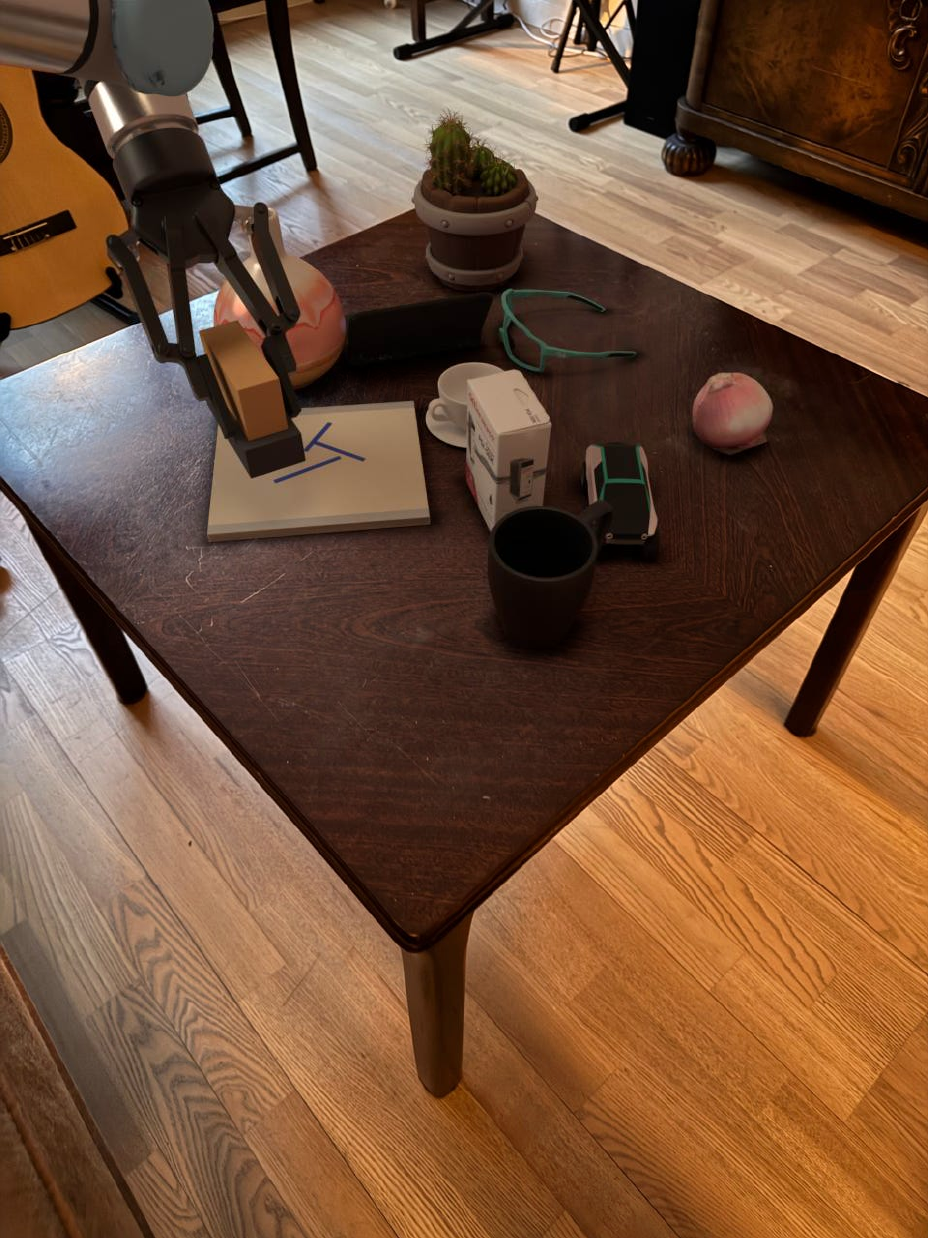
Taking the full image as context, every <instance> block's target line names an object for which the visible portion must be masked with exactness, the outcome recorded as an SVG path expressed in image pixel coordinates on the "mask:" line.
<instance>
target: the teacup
mask: <svg viewBox="0 0 928 1238" xmlns="http://www.w3.org/2000/svg"><path fill="white" fill-rule="evenodd" d="M504 371H505V370H503V369H502V368H500V367H499V366H495V365H493V364H491V363H485V362H476V361H473V362H463V363H457V364H456V365H452V366H450V367H449V368H447V369H445V370H444V371H443V372H442V373H441V374H440V375H439V377H438V380H437V390H438V396H439V397H438V398H435V399H433V400H432V401H430V402H429V404H428V409H427V411H426V414H425V423H426V426H427V428H428V430H429V431H430V432H431V434H433V436H435V438H437V439H439V440H440V441H442V442H444V443H446V444H449V445H451V446H454V447H455V446H456V447H459V448H466V449H467V380H468V379H471V378H475V377H479V376H484V375H489V374H493V373H499V372H504Z"/></svg>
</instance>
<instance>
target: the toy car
mask: <svg viewBox="0 0 928 1238" xmlns="http://www.w3.org/2000/svg"><path fill="white" fill-rule="evenodd" d="M648 463H649V462H648V458H647V455H646V453H645V450H644V448H643V447H642V445H641V444H628V443H625V442H623V441H616V440H615V441H608V442H606V443H602V444H601V443H592V444H590V445H589V446H588V447H587V448H586V451H585V460H584V461H582V463H581V469H580V470H581V471H580V486H581V488H580V489H581V491H584V492H587V496H588V497H587V498H588V506H589V505H590V504H592V503H594V502H595V501H598V500H604V501H606V502H608V503H609V504H610V505H611V506H612V509H613V518H612V522H611V525H610V527H609V530H608V532H607V534H606V537H605V539H604V541H603V543H602V545H601V547H600V549H599V551H598V554H597V557H601V555H602V549H603V546H605V545H609V544H610V545H628V546H629V545H630V546H635V545H639V546H641V552H642V553H641V554H642V556H643V557H644V558H648V559H649V558H652V559H653V558H655V557H657V555H658V552H659V543H660V534H659V529H658V522H659V521H658V516H657V513H656V509H655V506H654V501H653V495H652V490H651V485H650V479H649V465H648ZM593 524H594V522H593V523H592V524H591V525H590V527H591V528H592V527H593Z"/></svg>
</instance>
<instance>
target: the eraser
mask: <svg viewBox="0 0 928 1238" xmlns="http://www.w3.org/2000/svg"><path fill="white" fill-rule="evenodd" d="M198 334H199V338H200V342H201V346H202V350H203V354H206V353H207V355H208V358H209V360H210V363H211V366H212V368H213V371H214V373H215V376H216V378H217V381H218V384H219V386H220V389H221V391H222V394H223V396H224V399H225V402H226V404H227V407H228V409H229V412H230V414H231V417H232V420H233V422H234V425H235V427H236V430H237V431H236V433H235V435H234V436H233V437H231V438H228V441H229V443H230V444H231V446H232V448H233V449H234V451H235V453H236V454H237V456H238V458H239V459H240V461H241V463H242V464H243V466H244V468H245V469H246V471H247V473H248V474H249V476H250V478H251V479H253V478H256V477H259V476H262V475H265V474H268V473H271V472H274V471H277V470H280V469H283V468H286V467H289V466H292V465H295V464H298V463H301V462H304V461H306V458H305V452H304V447H303V441H302V435H301V432H300V431H299V429H298V428H297V427H296V425H295V424H294V422H293V421H292V419H291V418H290V417H289V415H288V414H287V412H286V411H285V408H284V402H283V397H282V391H281V386H280V380H279V378H278V376H277V375H276V373H275V372H274V371H273V369H272V368H271V366H270V365H269V364H268V362H267V361H266V359H265V358H264V357H263V355H262V354H261V353H260V351H259V350H258V348H257V347H256V346H255V344H254V343H253V341H252V340H251V339H250V337H249V336H248V334H247V333H246V332H245V330H244V329H243V327H242V326H241V325H240V323H239V322H238V321H233V322H229V323H225V324H222V325H218V326H214V325H213V326H210V327H206V328H202V329H200V330H198ZM205 403H206V406H207V408H208V409H209V412H210V413H211V415H212V416H213V418H214V419H215V421H216V423H217V424H219V423H218V420H217V417H216V415H215V412H214V410H213V407H212V405H211V402H210V400H205ZM219 426H220V425H219Z"/></svg>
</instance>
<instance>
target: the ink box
mask: <svg viewBox="0 0 928 1238" xmlns="http://www.w3.org/2000/svg"><path fill="white" fill-rule="evenodd" d="M503 371H504V372H499V373H493V374H489V375H484V376H479V377H475V378H471V379H468V380H467V448H466V456H465V458H466V460H465V482H466V484H467V487H468V489H469V490H470V492H471V494H472V496H473V498H474V500H475V502H476V505H477V507H478V509H479V511H480V513H481V515H482V517H483V519H484V521H485V523H486V526H487V527H488V529H489V531H490V532H491V530H492V528H493V527H494V525H495V524H496V523H497V522H498V520H500V519H501V518H502V517H503V516H505V515H506V514H508V513H510V512H512V511H514V510H517V509H521V508H524V507H531V506H544V496H545V486H546V478H547V467H548V458H549V449H550V439H551V431H552V430H551V429H552V423H551V417H550V416H549V413H547V411H546V409H545V407H544V406H543V405H542V403H541V402H540V401H539V399H538V397H537V395H536V394H535V392H534V391H533V390H532V388H531V387H530V385H529V383H528V381H527V379H526V378H525V377H524V376H523V373H522V372H521V371H520V370H518V369H515V368H514V369H510V370H509V369H508V370H503Z"/></svg>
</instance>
